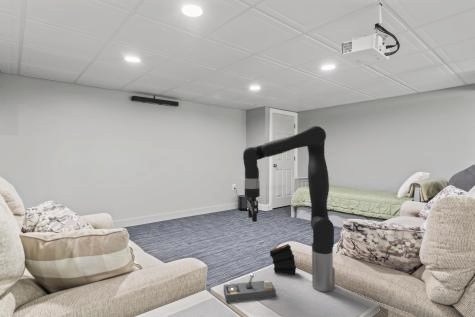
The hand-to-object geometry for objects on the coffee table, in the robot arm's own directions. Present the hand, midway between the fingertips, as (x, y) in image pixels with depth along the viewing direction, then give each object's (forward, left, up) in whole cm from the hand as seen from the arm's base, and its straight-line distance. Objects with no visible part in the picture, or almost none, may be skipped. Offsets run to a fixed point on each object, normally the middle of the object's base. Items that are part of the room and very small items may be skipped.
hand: (252, 219), depth 131 cm
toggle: (+5, +13, -26) cm, 29 cm away
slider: (-3, +16, -27) cm, 31 cm away
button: (+13, +13, -29) cm, 34 cm away
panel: (+5, +13, -30) cm, 33 cm away
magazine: (-17, -4, -30) cm, 35 cm away
